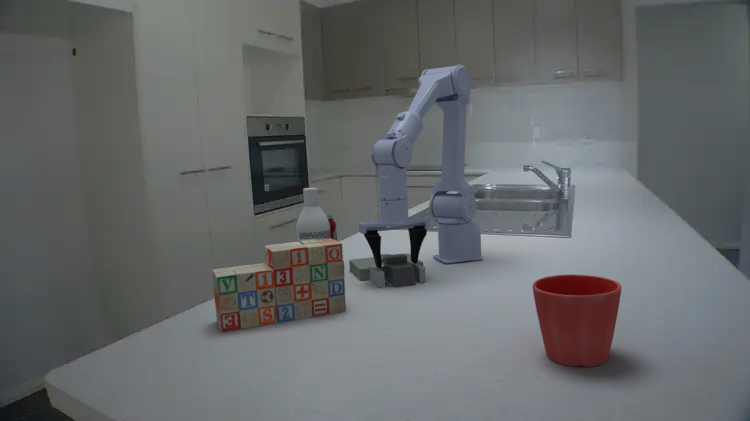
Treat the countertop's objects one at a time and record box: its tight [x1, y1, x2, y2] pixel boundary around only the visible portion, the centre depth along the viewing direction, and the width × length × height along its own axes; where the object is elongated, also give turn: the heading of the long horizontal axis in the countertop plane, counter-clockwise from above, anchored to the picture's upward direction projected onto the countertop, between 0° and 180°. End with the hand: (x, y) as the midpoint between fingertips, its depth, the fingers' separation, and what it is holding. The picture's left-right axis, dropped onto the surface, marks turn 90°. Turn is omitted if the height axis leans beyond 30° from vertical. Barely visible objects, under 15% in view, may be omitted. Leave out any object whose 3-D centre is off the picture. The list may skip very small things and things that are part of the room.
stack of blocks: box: [211, 238, 347, 333], centre depth 96 cm, size 21×6×12 cm, turn 112°
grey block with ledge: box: [383, 253, 416, 289], centre depth 115 cm, size 4×7×5 cm, turn 14°
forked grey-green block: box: [348, 252, 427, 289], centre depth 121 cm, size 14×17×3 cm
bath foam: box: [295, 187, 331, 242], centre depth 115 cm, size 7×7×20 cm
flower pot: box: [532, 274, 622, 367], centre depth 73 cm, size 11×11×10 cm
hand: (396, 264), depth 116 cm, fingers open, 7 cm apart
